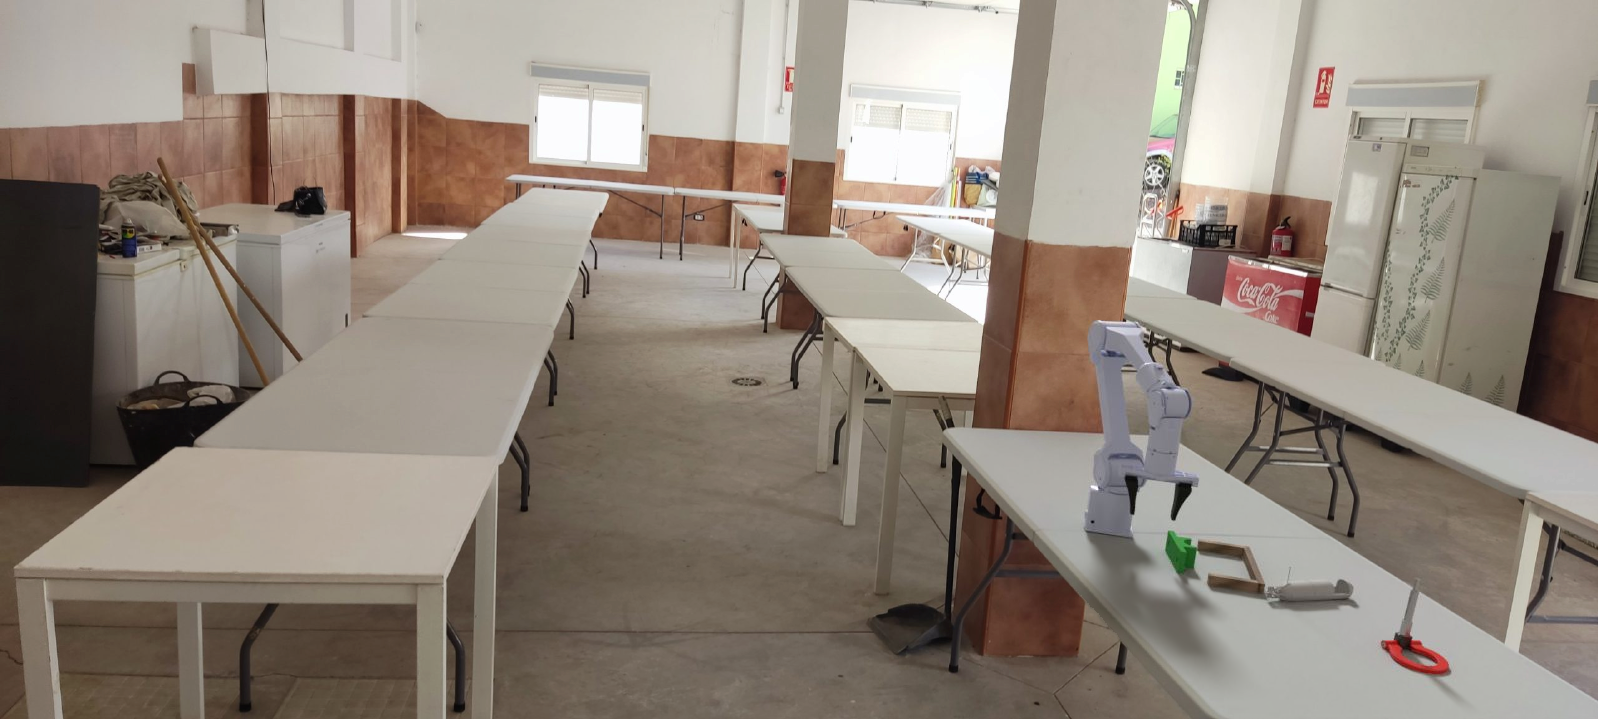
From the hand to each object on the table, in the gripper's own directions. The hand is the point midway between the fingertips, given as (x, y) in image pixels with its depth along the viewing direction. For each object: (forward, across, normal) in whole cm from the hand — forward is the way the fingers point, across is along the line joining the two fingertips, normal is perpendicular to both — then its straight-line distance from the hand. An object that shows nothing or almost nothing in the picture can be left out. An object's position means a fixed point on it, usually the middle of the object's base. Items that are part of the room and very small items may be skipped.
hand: (1152, 515), depth 207 cm
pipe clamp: (+9, +6, -1) cm, 11 cm away
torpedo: (+9, +28, -9) cm, 30 cm away
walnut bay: (+8, +15, -1) cm, 17 cm away
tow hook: (+9, +40, -29) cm, 50 cm away
